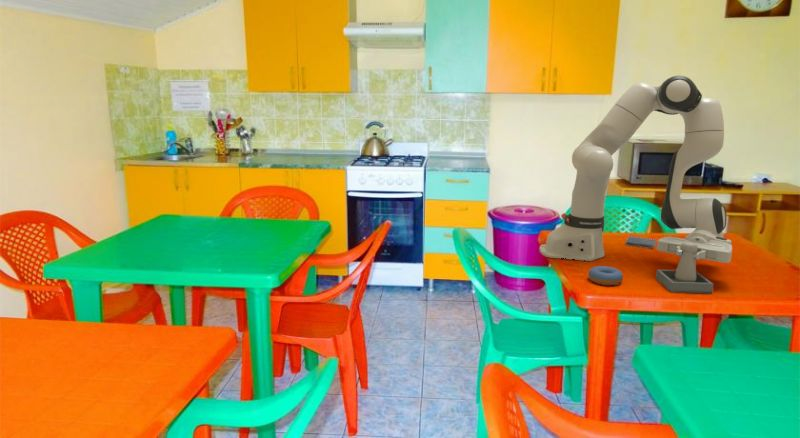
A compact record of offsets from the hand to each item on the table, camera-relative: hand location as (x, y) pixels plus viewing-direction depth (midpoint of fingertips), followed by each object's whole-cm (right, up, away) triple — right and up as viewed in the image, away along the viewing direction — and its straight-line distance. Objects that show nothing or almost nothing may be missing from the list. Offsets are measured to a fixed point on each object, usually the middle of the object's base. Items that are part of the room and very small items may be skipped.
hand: (687, 255), depth 159 cm
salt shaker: (+1, -9, +3) cm, 10 cm away
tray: (0, -10, +3) cm, 10 cm away
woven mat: (+7, 0, +48) cm, 48 cm away
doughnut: (-22, -9, +7) cm, 24 cm away
